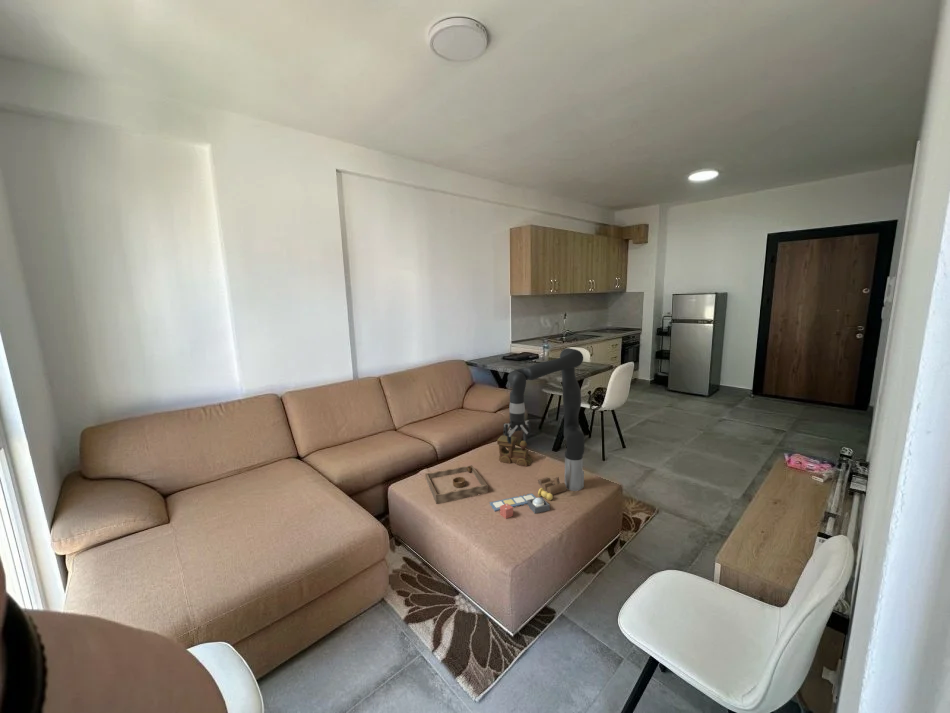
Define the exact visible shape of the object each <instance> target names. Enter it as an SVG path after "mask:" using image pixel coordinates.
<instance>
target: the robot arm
mask: <svg viewBox="0 0 950 713" xmlns="http://www.w3.org/2000/svg"><path fill="white" fill-rule="evenodd" d="M583 362H584V354H583V353H582V352H581V351H580V350H578V349H575V348H569V347H566V348H563V349H562V351H561V352H560V354H559V357H558V358H556V359H551V360H545V361H541V362H537V363H535V364H531V365H530V366H526V367H521V368H518V369H514V370H511V371H510V372H509V373H508V375H507V381H508V382H509V383H510V384H511V385H512V390H510V392H509V409H508V410H509V422H508V423H506V422H504V423H503V431H502V432H503V433H502V435H505V436H507V442H508V443H509V444H511V436H513V434H514V433H515V432H518V431H520V432H521V431H522V432H523V437H522V438H523V440H522V441H526V442H527V440H528V434H529V433H531V432H532V424H531V421H530V420H528V419H526V417H525V416H526V414H525V411H526V410H525V390H526V386H527V381H533V380H537V379H539V378H542V377H544V376H547V375H550V374H553V373H557V372H559V371H561V377H562V378H561V379H562V380H561V382H562V384H561V385H562V403H563V404H562V405H563V414H564V415H563V416H564V423H563V424H564V425H563V437H564V440H565V441H566V449H565V451H564V483H565V485H566V488H567V489H566V490H568V491H572V492H577V491H578V492H579V491H580V490H582V489H583V488H584V487H585V486H584V485H585V471H584V470H583V468H584V467H583V463H584V462H583V460H584V458H583V457H584V454H585V439H586V438H585V435H584V433H583V431H582V430H581V429H580V425H579V424H580V423H579V414H580V410H581V407H582V406H581V405H582V392H581V388H580V384H579V382H578V380H577V377H576V372H575V371H576V370H575V368H578V367H579V366H581V365H582V364H583ZM525 419H526V420H525ZM525 426H526V428H525Z"/></svg>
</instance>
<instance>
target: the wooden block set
mask: <svg viewBox="0 0 950 713" xmlns="http://www.w3.org/2000/svg"><path fill="white" fill-rule="evenodd" d="M553 482H554V483H553ZM537 483H538V485H540V486H541V488H543V489H544V491H546V492H548V493H551V494H552V495H553V496H554V495H557V494H559V493H563V492H566V491H567V490H568V489H567V488H566V485H565V482H560V478H559V476H557V477H554V478H553V481H551V478H550V477H544V478H540V479H538V480H537Z"/></svg>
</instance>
